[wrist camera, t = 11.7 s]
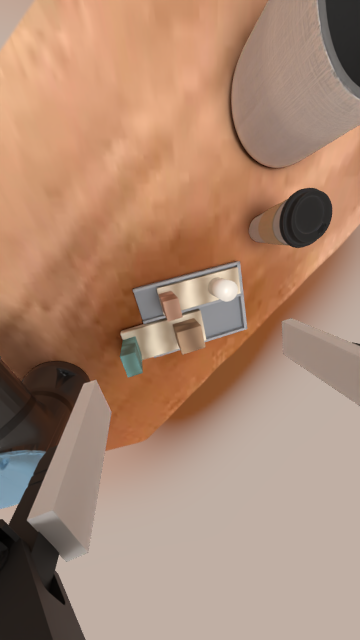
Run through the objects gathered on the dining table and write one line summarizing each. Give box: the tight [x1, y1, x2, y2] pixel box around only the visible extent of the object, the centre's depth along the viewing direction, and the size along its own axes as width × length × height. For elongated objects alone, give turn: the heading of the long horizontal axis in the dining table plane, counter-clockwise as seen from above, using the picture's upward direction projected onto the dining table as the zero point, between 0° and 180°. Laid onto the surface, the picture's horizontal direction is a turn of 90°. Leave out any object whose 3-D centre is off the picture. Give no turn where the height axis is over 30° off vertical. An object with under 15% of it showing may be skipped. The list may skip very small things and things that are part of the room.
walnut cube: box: [173, 318, 205, 355], centre depth 45 cm, size 6×6×6 cm
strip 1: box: [156, 267, 241, 322], centre depth 42 cm, size 20×6×10 cm, turn 103°
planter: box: [231, 0, 360, 168], centre depth 30 cm, size 22×22×20 cm
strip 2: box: [120, 309, 206, 377], centre depth 44 cm, size 20×8×10 cm, turn 103°
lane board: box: [133, 261, 247, 358], centre depth 48 cm, size 26×18×2 cm
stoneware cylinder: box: [208, 277, 238, 302], centre depth 42 cm, size 4×4×6 cm
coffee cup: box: [249, 188, 332, 248], centre depth 39 cm, size 9×9×15 cm
